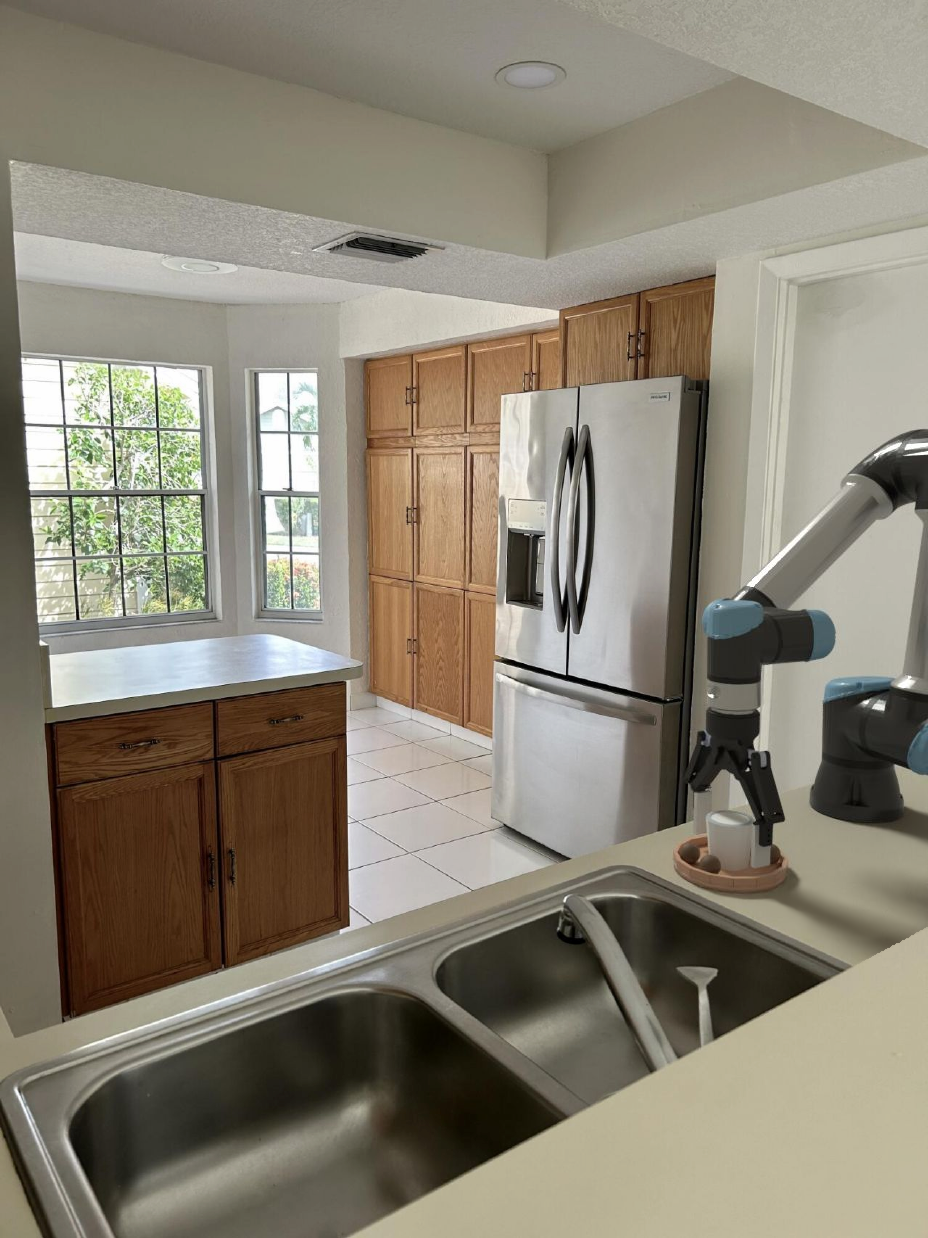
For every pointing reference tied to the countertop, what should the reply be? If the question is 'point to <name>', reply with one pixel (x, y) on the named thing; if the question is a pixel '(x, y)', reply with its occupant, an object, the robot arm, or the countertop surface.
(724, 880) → the tray
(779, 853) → the bead
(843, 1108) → the countertop surface
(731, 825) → the white cup
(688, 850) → the bead
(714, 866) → the bead
